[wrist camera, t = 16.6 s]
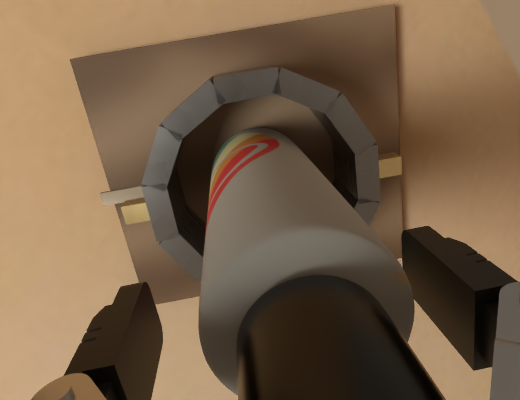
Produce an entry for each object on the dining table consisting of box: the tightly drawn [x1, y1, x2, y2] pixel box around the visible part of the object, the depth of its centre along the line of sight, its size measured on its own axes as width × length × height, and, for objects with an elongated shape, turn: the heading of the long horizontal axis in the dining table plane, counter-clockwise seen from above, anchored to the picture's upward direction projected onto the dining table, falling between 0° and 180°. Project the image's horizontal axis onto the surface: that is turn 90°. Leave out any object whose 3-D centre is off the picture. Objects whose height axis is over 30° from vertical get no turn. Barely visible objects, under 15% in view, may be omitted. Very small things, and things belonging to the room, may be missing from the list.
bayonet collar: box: [121, 66, 402, 284], centre depth 22 cm, size 12×15×4 cm
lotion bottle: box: [199, 128, 446, 400], centre depth 15 cm, size 6×6×20 cm
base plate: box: [70, 4, 403, 304], centre depth 24 cm, size 16×19×1 cm
